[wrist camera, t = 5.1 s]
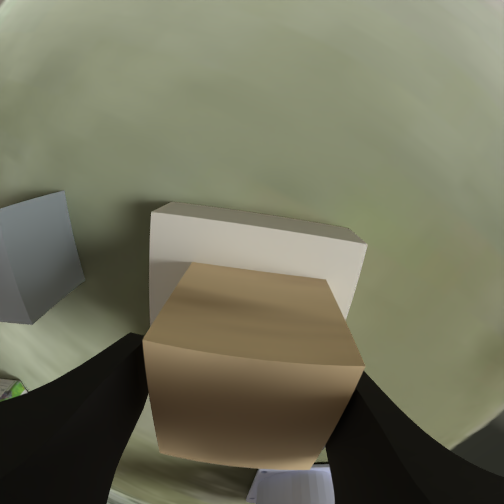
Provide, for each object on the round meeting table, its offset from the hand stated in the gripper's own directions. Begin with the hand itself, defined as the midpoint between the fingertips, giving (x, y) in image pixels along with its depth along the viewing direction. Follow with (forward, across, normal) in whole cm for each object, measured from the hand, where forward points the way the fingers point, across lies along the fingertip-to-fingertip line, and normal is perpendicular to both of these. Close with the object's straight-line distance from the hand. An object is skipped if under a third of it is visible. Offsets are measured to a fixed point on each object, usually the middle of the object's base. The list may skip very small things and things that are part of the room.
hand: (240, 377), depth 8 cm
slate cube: (+6, +12, -1) cm, 13 cm away
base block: (+6, 0, 0) cm, 6 cm away
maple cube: (+3, 0, 0) cm, 3 cm away
